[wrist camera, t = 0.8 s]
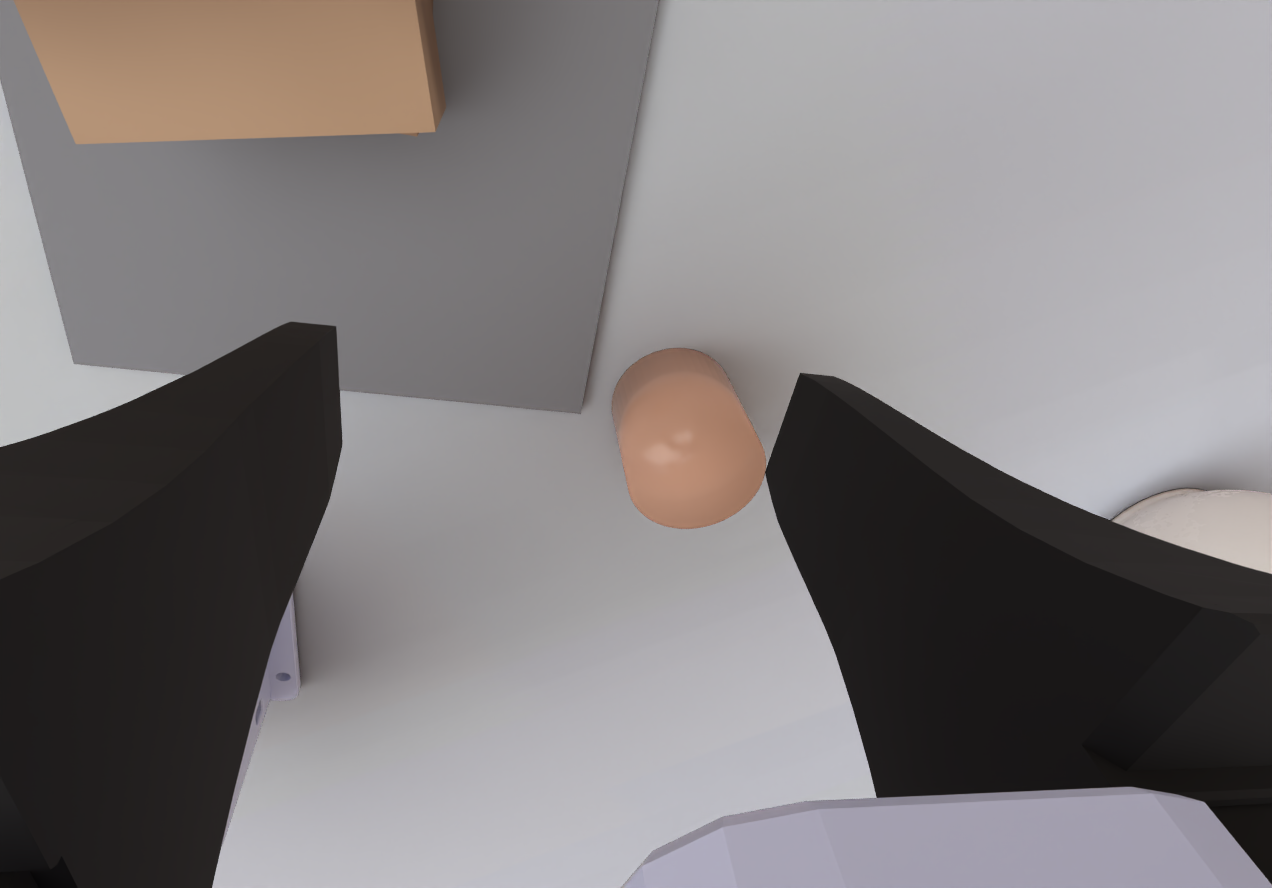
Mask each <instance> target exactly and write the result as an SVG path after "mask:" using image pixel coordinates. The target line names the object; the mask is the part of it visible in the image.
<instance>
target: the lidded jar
mask: <svg viewBox="0 0 1272 888" xmlns="http://www.w3.org/2000/svg"><path fill="white" fill-rule="evenodd" d="M1111 521H1113V522H1115V523H1118V524H1120V525H1123V526H1126V527H1128V528H1131V529H1133V530H1136V531H1138V532H1141V533H1144V534H1146V535H1149V536H1152V537H1155V538H1158V539H1161V540H1164V541H1166V542H1169V543H1172V544H1175V545H1178V546H1181V547H1184V548H1187V549H1190V550H1193V551H1196V552H1200V553H1203V554H1206V555H1209V556H1212V557H1215V558H1219V559H1222V560H1225V561H1228V562H1231V563H1234V564H1238V565H1241V566H1244V567H1248V568H1251V569H1255V570H1259V571H1263V572H1267V573H1270V574H1272V494H1270V493H1264V492H1257V491H1250V490H1212V491H1204V490H1200V489H1191V488H1184V489H1175V490H1171V491H1166V492H1163V493H1160V494H1157V495H1154V496H1151V497H1149V498H1147V499H1144V500H1142V501H1140V502H1138V503H1136V504H1135V505H1133V506H1131V507H1129V508H1128V509H1126V510H1125V511H1123V512H1122V513H1120V514H1119V515H1118V516H1116V517H1115V518H1114V519H1113V520H1111Z"/></svg>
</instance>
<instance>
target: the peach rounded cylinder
mask: <svg viewBox="0 0 1272 888" xmlns="http://www.w3.org/2000/svg"><path fill="white" fill-rule="evenodd" d="M612 415H613V420H614V425H615V429H616V434H617V439H618V443H619V448H620V453H621V458H622V462H623V467H624V472H625V476H626V481H627V486H628V490H629V494H630V497H631V499H632V501H633V503H634V505H635V506H636V507H637V509H638V510H639V511H640V512H641V513H642V514H643V515H644V516H646V517H647V518H649V519H650V520H652V521H654V522H656V523H658V524H661V525H664V526H667V527H672V528H679V529H692V528H700V527H705V526H709V525H713V524H716V523H718V522H721V521H723V520H725V519H727V518H729V517H731V516H732V515H734V514H735V513H737V512H738V511H740V510H741V509H742V508H743V507H745V506H746V505H747V504H748V503H749V502H750V501H751V499H752V498H753V497H754V496H755V494H756V493H757V491H758V490H759V488H760V486H761V484H762V481H763V478H764V475H765V469H766V458H765V452H764V450H763V447H762V444H761V442H760V440H759V438H758V436H757V434H756V432H755V430H754V428H753V426H752V424H751V423H750V421H749V419H748V417H747V415H746V413H745V411H744V409H743V407H742V405H741V403H740V401H739V399H738V397H737V395H736V393H735V391H734V389H733V387H732V385H731V383H730V381H729V379H728V377H727V375H726V373H725V371H724V370H723V368H722V367H721V366H720V365H719V364H718V363H717V362H716V361H715V360H714V359H712V358H711V357H709V356H708V355H706V354H704V353H702V352H699V351H696V350H692V349H686V348H670V349H664V350H660V351H657V352H654V353H651V354H649V355H647V356H645V357H643V358H641V359H639V360H638V361H637V362H635V363H634V364H633V365H632V366H630V367H629V368H628V369H627V370H626V372H625V373H624V374H623V375H622V376H621V378H620V380H619V381H618V383H617V385H616V387H615V390H614V393H613V397H612Z"/></svg>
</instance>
